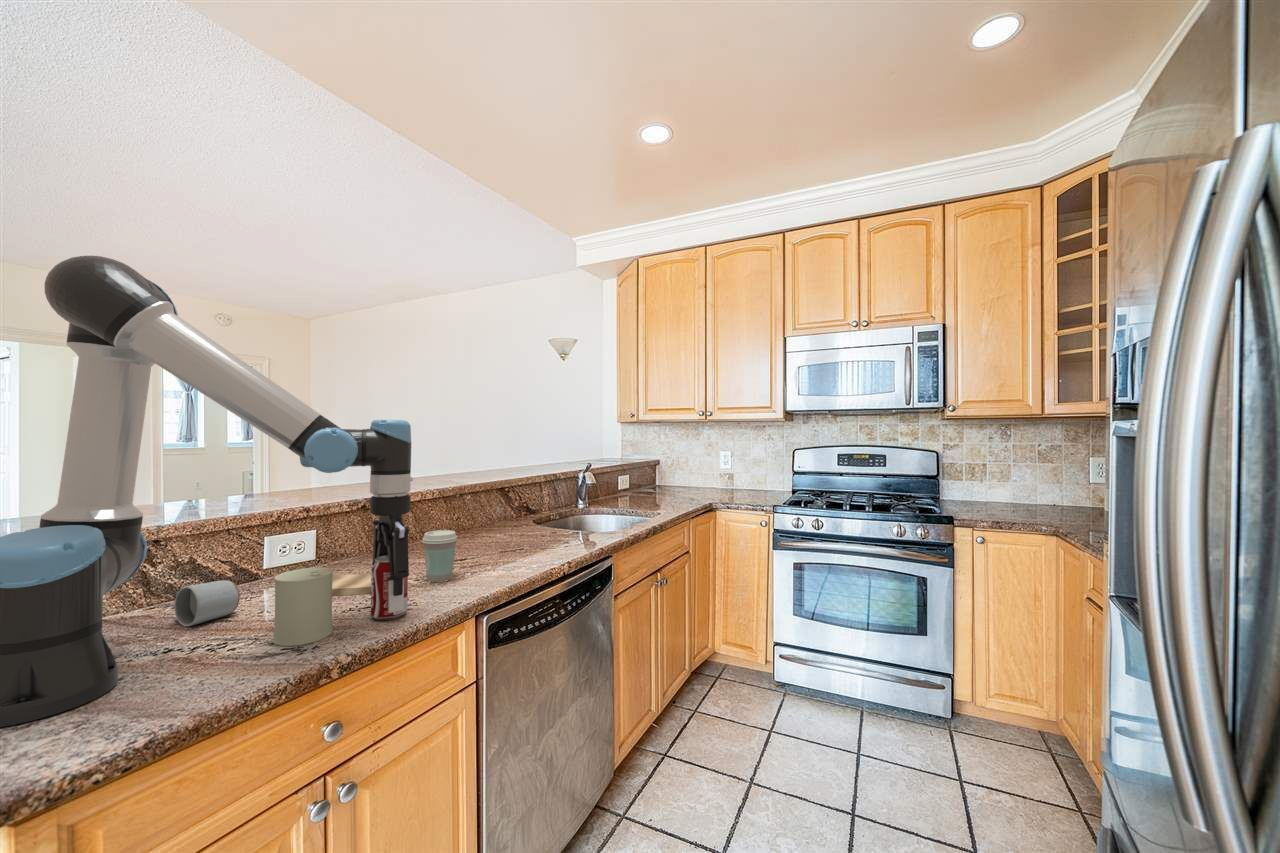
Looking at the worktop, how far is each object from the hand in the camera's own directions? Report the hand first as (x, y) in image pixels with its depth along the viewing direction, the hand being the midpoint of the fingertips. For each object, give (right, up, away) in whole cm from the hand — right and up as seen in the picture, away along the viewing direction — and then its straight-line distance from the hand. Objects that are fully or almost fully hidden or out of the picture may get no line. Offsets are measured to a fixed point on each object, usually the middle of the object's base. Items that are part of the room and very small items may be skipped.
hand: (389, 606), depth 105 cm
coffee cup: (0, -3, +26) cm, 26 cm away
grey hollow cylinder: (-37, -2, -2) cm, 37 cm away
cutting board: (-18, -2, +19) cm, 26 cm away
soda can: (0, -2, 0) cm, 2 cm away
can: (-11, -2, -11) cm, 15 cm away
